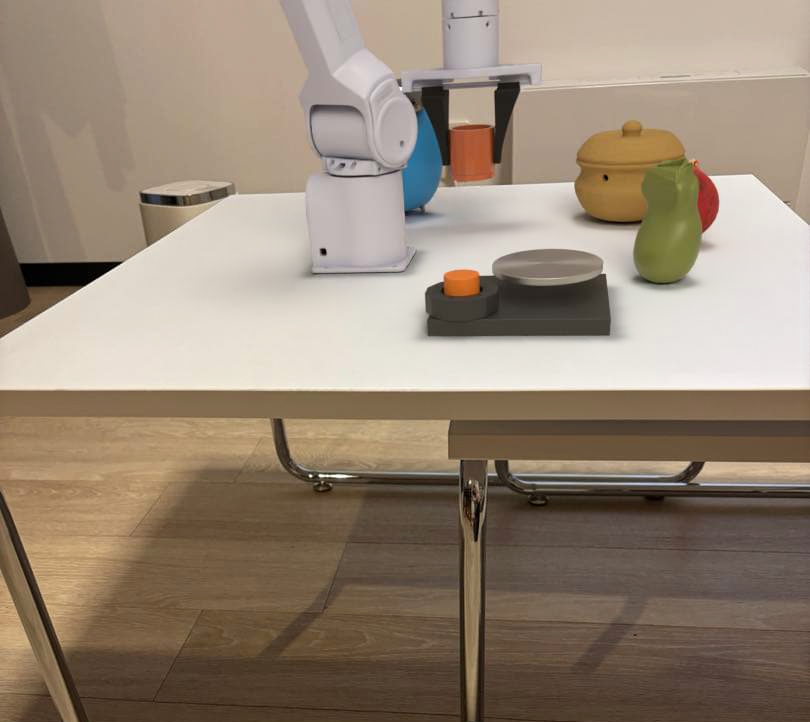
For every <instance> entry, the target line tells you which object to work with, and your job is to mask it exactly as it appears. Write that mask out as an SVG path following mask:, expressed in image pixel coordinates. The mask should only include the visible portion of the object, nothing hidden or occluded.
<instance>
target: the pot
mask: <svg viewBox="0 0 810 722" xmlns="http://www.w3.org/2000/svg"><path fill="white" fill-rule="evenodd" d="M685 153H686V148H685V146H684V144H683V143H682V142H681V140H680V139H679V138H678V137H677V136H676V134H675V133H673V132H671V131H669V130H665V129H658V128H643V125H642V123H641V122H640V121H639V120H637V119H636V120H633V119H632V120H627V121H626V122H624V124H623V125H622V126H621V129H612V130H611V129H610V130H605V131H599V132H596V133H594V134H593V135H591V136H590V137H589V138H588V139H586V140H585V141H584V142H583V143H582V145H581V146H580V147H579V149H578V150H577V152H576V158H575V163H576V164H577V165H578V166H579V167H580V172H579V175H578V177H576V179H575V180H574V183H573V184H574V185H573V187H574V193H575V196H576V197H577V200H578V202H579V204H580V206H581V207H582V208H583V210H584V211H585V212H586V213H587V214H588V215H590V216H591V217H593V218H596V219H599V220H602V221H609V222H617V223H618V222H619V223H623V222H625V223H626V222H627V223H628V222H638V221H643V219H644V217H645V214H646V210H647V202H646V200H645V198H644V197H643V194H642V191H641V185H642V182H643V180H644V177H645V172H646V170H649V169H651V168H652V167H656V166H657V165H658V164H660V163H661V162H662V161H664V160H670V161H678V160H680V159H681V160H682V159H684V158H686V155H685Z"/></svg>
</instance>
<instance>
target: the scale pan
mask: <svg viewBox="0 0 810 722" xmlns="http://www.w3.org/2000/svg"><path fill="white" fill-rule="evenodd" d="M603 271H604V260H603V259H602V257H600V256H598V255H597V254H594V253H591V252H588V251H583V250H578V249H570V248H569V249H568V248H537V249H536V248H535V249H527V250H521V251H516V252H511V253H508V254H506V255H505V254H504V255H502V256H500V257H498V258H497V259H495V260H494V261H493V262H492V266H491V273H492V275H494V276H495V277H496V278H498V279H500V280H502V281H505V282H509V283H513V284H519V285H529V286H557V285H567V284H573V283H578V282H583V281H586V280H589V279H592V278H594V277H596V276H598V275H599V274H602V272H603Z"/></svg>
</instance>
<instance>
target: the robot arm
mask: <svg viewBox="0 0 810 722" xmlns="http://www.w3.org/2000/svg"><path fill="white" fill-rule="evenodd" d="M278 1H279V4H280V7H281V9H282V12H283V14H284V16H285V19H286V21H287V24H288V26H289V29H290V31H291V34H292V36H293V38H294V41H295V43H296V45H297V48H298V51H299V53H300V55H301V58H302V61H303V62H304V65H305V68H306V70H307V73H308V75H307V77H306V79H305V81H304V82H303V84H302V87H301V89H300V91H299V94H298V96H297V97H298V100H299V104H300V105H301V107H302V111H303V114H304V120H305V121H304V122H305V133H306V138H307V141H308V144H309V147H310V149H311V150H312V152H313V153H314V154H315V156H316V157H317V158H318V159H320V160H321V167H322V172H321V171H319V172H313V173H310V174H309V175H308V177H307V179H306V184H305V198H304V199H305V212H306V219H307V227H308V238H309V245H310V253H311V261H312V267H311V273H313V274H339V273H341V274H344V273H348V274H349V273H395V272H396V273H397V272H398V273H399V272H404V271H405V270H406V269H407V267H408V265H409V264H410V262H411V260H412V259H413V257H414V255H415V254H416V252H417V247H415V246H407V231H406V230H407V229H406V213H405V212H406V211H405V212H404V196H403V179H402V169H403V168H406V167H407V160H408V159H409V158H410V156H411V154H412V152H413V150H414V147H415V144H416V140H417V133H418V125H417V117H416V113H415V110H414V107H413V105H412V103H411V102H410V100H409V99H408V98H407V97H406V96H405V95H404V94H403V93H406V92H413V91H422V97H421V102H422V105H423V107H424V109H425V111H426V113H427V115H428V117H429V120H430V122H431V124H432V127H433V129H434V132H435V135H436V138H437V141H438V145H439V149H440V153H441V158H442V167H449V148H448V129H449V128H450V90H464V89H480V88H482V89H483V88H496V89H495V90H494V91H493V96H494V97H493V99H494V101H493V102H494V103H493V104H494V126H495V141H494V164H495V165H500V164H501V163H502V158H503V149H504V143H505V139H506V134H507V130H508V127H509V123H510V119H511V116H512V115H513V111H514V108H515V106H516V103H517V100H518V98H519V95H520V93H521V91H522V90H521V86H533V87H534V86H541V85H542V75H543V74H542V73H543V63H542V62H526V63H525V62H524V63H499V20H500V19H499V14H500V13H499V11H500V7H499V6H500V5H499V3H500V2H499V1H500V0H441V27H442V28H441V32H442V33H441V34H442V63H443V64H442V65H443V67H435V68H421V69H410V70H409V69H408V70H403V71H401V72H400V78H401V82H402V91H401V90H400V88H399V86H398V83H397V81H396V79H397V78H396V75H395V72H394V71H393V70H392V69H391V68H390V67H389V66H387V65H386V63H384V62H383V61H382V60H380V59H379V58H377V56H375V55H374V54H373V53H372V52H371V51H369V50H368V49H367V47H366V44H365V42H364V39H363V36H362V33H361V30H360V27H359V24H358V21H357V19H356V15H355V13H354V10H353V8H352V7H353V6H352V5H351V2H350V0H278ZM480 78H488V81H474V82H473V81H472V82H454V81H455V80H465V79H466V80H468V79H480ZM453 82H454V83H453Z"/></svg>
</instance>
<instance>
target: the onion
mask: <svg viewBox="0 0 810 722" xmlns="http://www.w3.org/2000/svg"><path fill="white" fill-rule="evenodd" d="M688 162H689V163H690V162H693V164H694V166H693V173H695V174H696V175H697V178H698V184H699V194H698V201H697V208H698V212H699V215H700V219H701V224H702V235H703V234H705V232H706V231H708V230H709V229H710V228H711V226H712V225H713V223H714V222H715V221H716V219H717V216H718V214H719V211H720V210H719V209H720V195H719V191H718V188H717V186H716V185H715V183H714V181H713V180H712V179H711V177H709V176H708V175H707V174H706V173H705V172H703V171H702V170H701V169H700V167H699V165H700V162H699V161H698V160H697V159H696V158H690V159H689V160H688Z"/></svg>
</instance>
